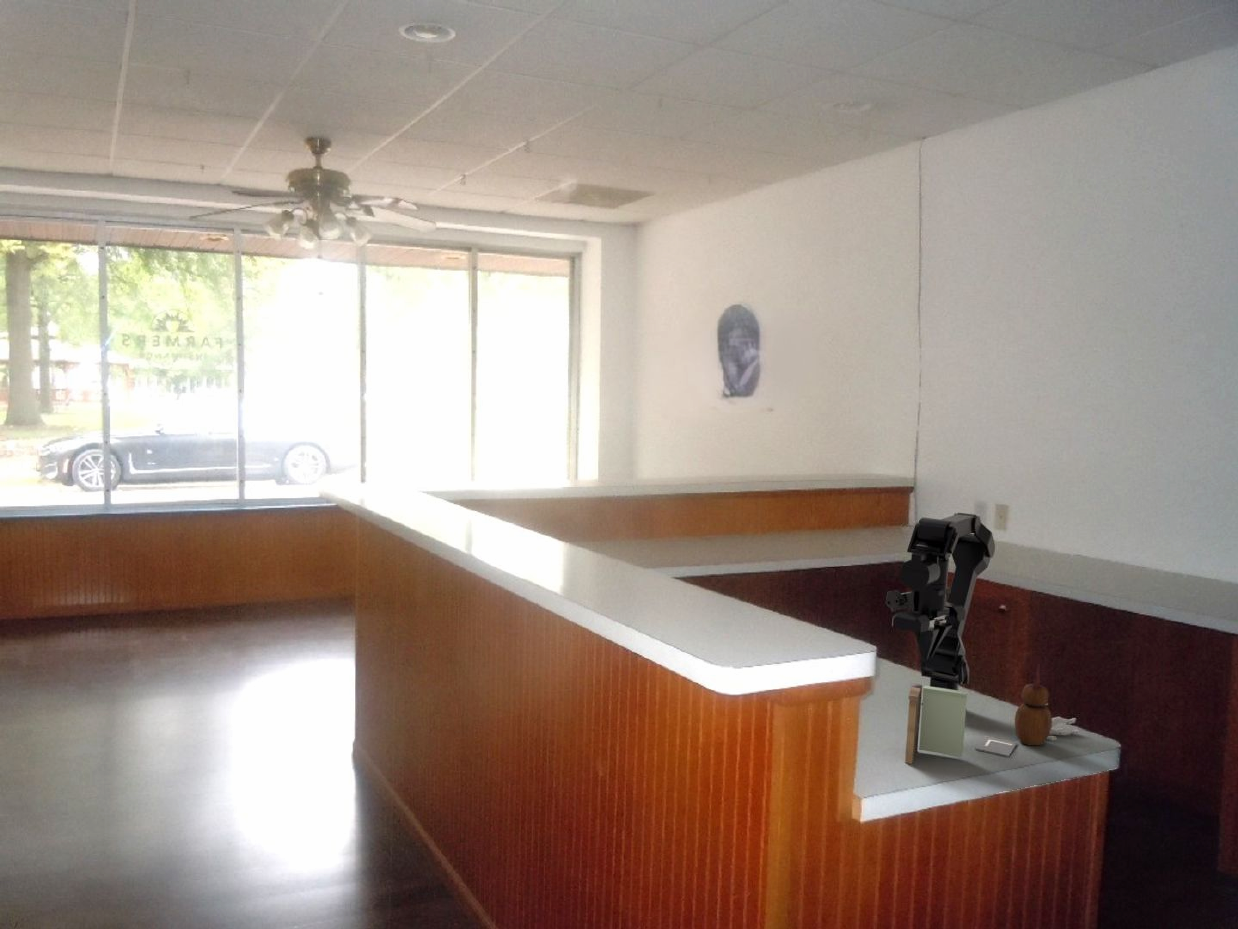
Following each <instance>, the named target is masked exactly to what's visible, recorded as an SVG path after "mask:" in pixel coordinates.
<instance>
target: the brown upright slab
mask: <svg viewBox="0 0 1238 929" xmlns="http://www.w3.org/2000/svg"><path fill="white" fill-rule="evenodd" d="M922 697H923V685H922V684H921V683H915V682H913V683H911V684H910V691H909V693H908V700H909V702H908V703H909V704H908V716H907V717H908V718H907V731H906V744H905V758H904V759H905V760H904V763H905V764H911V765H912V764H913V762H914V758H915V754H917V753H918V750H919V738H920V724H921V711H922V707H921V706H922Z"/></svg>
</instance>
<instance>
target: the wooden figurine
mask: <svg viewBox="0 0 1238 929" xmlns="http://www.w3.org/2000/svg"><path fill="white" fill-rule="evenodd" d="M1040 669H1041V668H1040V663H1038V665H1037V669H1036V674H1035V678H1034V682H1033V683H1029V684H1028V683H1027V684H1026V685H1025V686H1024V687H1023V690H1022V693H1021V699H1022V701H1023V703H1021V704H1020V705H1019V707H1018V708H1017V710H1016V712H1015V715H1014V728H1015V729H1014V730H1015V734H1016V736H1017V739H1018V740H1019V741H1020V742H1021V743H1023V744H1024V745H1029V746H1040V745H1043V744H1044V743H1046V740H1047V737H1048V736H1050V735H1049V733H1050V730H1051V727H1053V726H1052V718H1053V717H1052V713H1051V710H1050V709H1049V708H1048V707H1047V705H1045V704H1048V702H1049V690H1048V689H1047V687H1045V686H1043V685H1041V684H1040Z"/></svg>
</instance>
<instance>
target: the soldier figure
mask: <svg viewBox="0 0 1238 929" xmlns="http://www.w3.org/2000/svg"><path fill="white" fill-rule="evenodd" d="M1048 705H1049V703H1047V704H1045V706H1048ZM1076 720H1077V718H1075V717H1072V718H1069V719H1067V718H1063V717H1061V716H1056V717H1052V727H1051V730H1050V733H1049V735H1048V737H1047V739H1046V740H1050V741H1056V740H1057V736H1054V735H1063V736H1066V735H1069V734H1070V735H1078V734H1079V732H1080V730H1079V729H1075V730H1074V729H1072V730H1071V729H1070V730H1067V729H1065V728H1063V727H1054V726H1056V725H1057V724H1065V723H1066V724H1068V725H1071V724H1075V723H1076Z"/></svg>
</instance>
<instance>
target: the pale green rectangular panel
mask: <svg viewBox="0 0 1238 929" xmlns="http://www.w3.org/2000/svg"><path fill="white" fill-rule="evenodd" d="M967 699H968V691H962V690H959V689H958V690H951V689H944V688H937V687H931V686H930V685H923V687H922V702H921V706H922V707H921V716H920V729H919V743H918V750H919V751H924V752H932V753H937V754H942V755H948V756H955V757H960V758H962V757H963V751H964V739H965V737H964V736H965V727H966V726H965V725H966V714H967V701H968V700H967Z"/></svg>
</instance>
